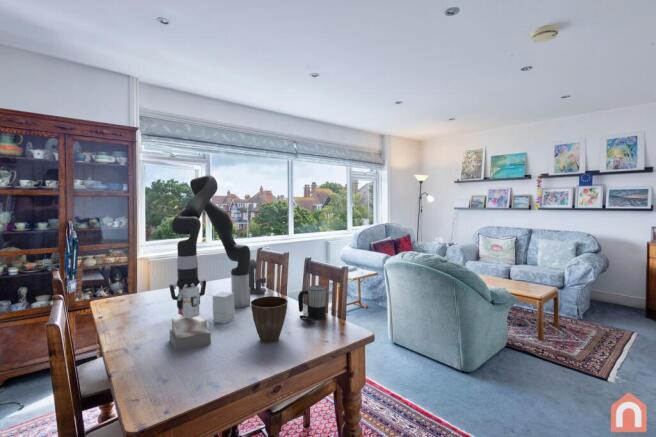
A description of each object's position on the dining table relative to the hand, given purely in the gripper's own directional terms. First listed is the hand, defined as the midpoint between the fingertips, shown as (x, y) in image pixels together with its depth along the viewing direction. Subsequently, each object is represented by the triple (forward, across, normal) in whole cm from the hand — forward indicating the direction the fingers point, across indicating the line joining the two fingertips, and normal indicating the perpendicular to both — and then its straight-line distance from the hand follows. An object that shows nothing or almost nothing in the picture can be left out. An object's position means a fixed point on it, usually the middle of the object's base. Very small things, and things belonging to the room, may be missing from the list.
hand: (188, 307), depth 134 cm
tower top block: (+10, 0, 0) cm, 10 cm away
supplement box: (+15, -19, -17) cm, 29 cm away
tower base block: (+15, 0, 0) cm, 15 cm away
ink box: (+3, 0, 0) cm, 3 cm away
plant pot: (+14, -28, +16) cm, 35 cm away
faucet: (+15, -49, -58) cm, 77 cm away
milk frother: (+15, -54, +7) cm, 57 cm away
